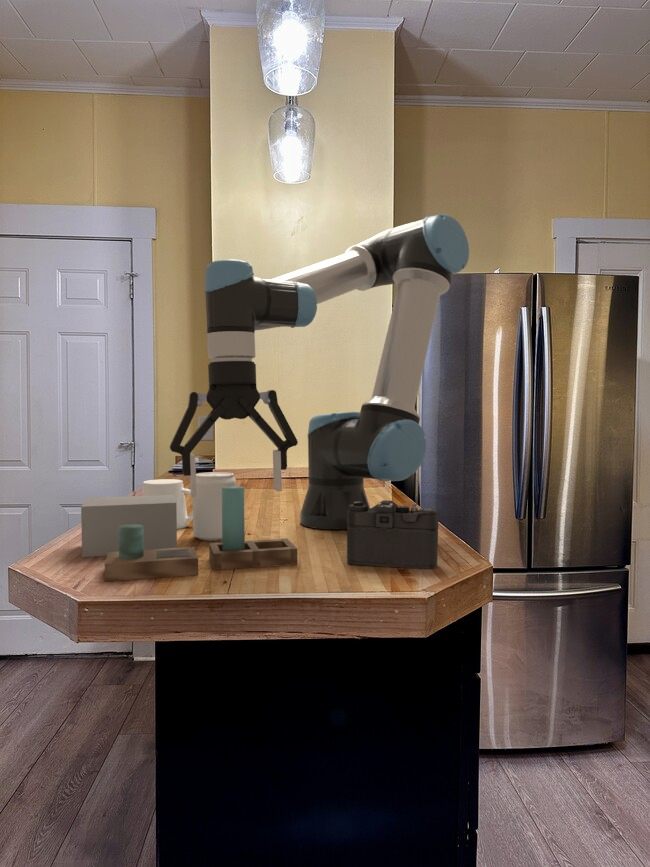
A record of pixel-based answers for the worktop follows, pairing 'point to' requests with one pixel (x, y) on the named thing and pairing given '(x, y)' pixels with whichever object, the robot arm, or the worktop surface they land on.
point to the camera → (392, 536)
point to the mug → (170, 488)
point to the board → (147, 558)
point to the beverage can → (210, 504)
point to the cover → (128, 522)
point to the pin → (233, 518)
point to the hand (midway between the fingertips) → (236, 493)
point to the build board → (254, 555)
